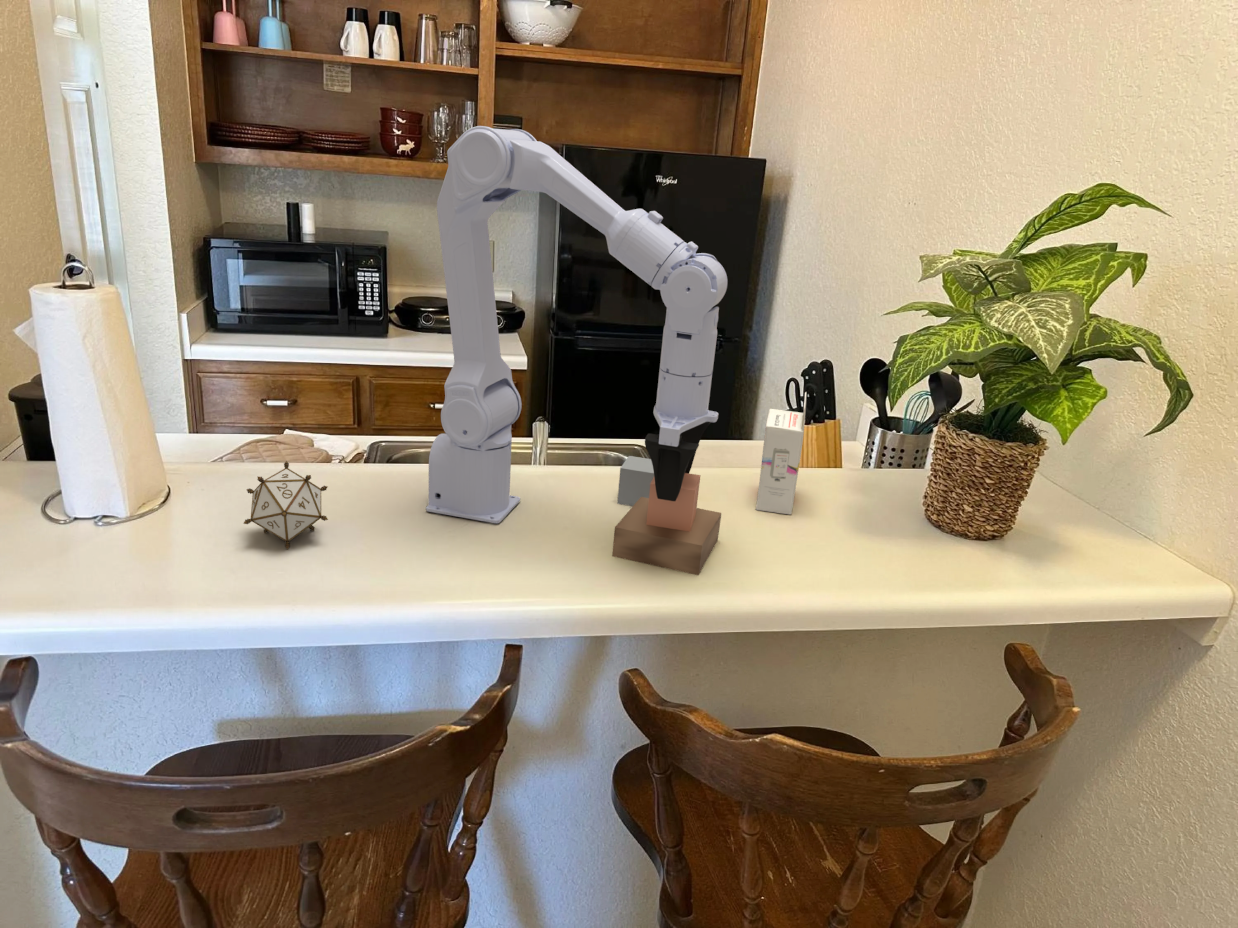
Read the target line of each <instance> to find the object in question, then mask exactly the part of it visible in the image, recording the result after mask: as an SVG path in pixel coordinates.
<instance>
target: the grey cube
mask: <svg viewBox="0 0 1238 928" xmlns="http://www.w3.org/2000/svg"><path fill="white" fill-rule="evenodd" d="M653 477H654V470H653V465H652V461H651V458H646V457H645V458H644V457H639V456H633V455H629V456H627V458H626V459H625V461H624V462H623V463H622V465H621V466H620V468H619V480H618V491H617V504H618V505H623V506H624V505H625V506H630V507H633V506H634V504H635V503H636V502H637V501H638V500H639V499H640V497H645V498H649V493H650V483H651V481H652V479H653Z"/></svg>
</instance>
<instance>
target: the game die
mask: <svg viewBox="0 0 1238 928" xmlns="http://www.w3.org/2000/svg"><path fill="white" fill-rule="evenodd" d="M289 464H290V463H289V461H287V460H285V462H284V463H283V467H284V468H283V469H280V470H279V471H277V472H276V473H274V474H273V475H271V476H269V477H267V478H264V477H263V476H257V479H256V480H257V481H259V485H258V486H256V488H255V489H253V488H247V489H246V491H247V493H248V494H250V495H251V494H252V496H251V497H252V498H251V499H252V500H251V511H250V518H247V519H244V521H243V523H242V524H244V525H249V524H251V523H253V524H255V525H257V526H258V527H261V528H262V529H263V533H264V534H267V533H268V534H269V533H271V534H273V535H274V536H275V537H277V538H279V539H280V540H283V541H284V542H285V543H284V547H285V548H286V550H289V548H290V547H291V543H290V541H291V540H293V539H295V538H296V537H297V536H299V535H300V534H302V533H303V532H305V531H306V530H307V529H308V530H309V531H310V532H311V531H313V532H314V531H315V526H314V524H315V523H317V522H318V521H319V520H322V521H324V522H325V521H328V520H329V518H328V517H327V515H325V514H324V515H323V514H322V492H325V491H327V489H328V487H329V486H327V485H323V486H321V487H319V486H317V485H316V484H314V483H313V482H311V481H310V480H311V479H312V476H311V475H312V474H306V476H305V477H303V476H302V475H300V474H298V473H297V472H295V471H294V470H292V469H290V468H289V467H290V465H289Z"/></svg>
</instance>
